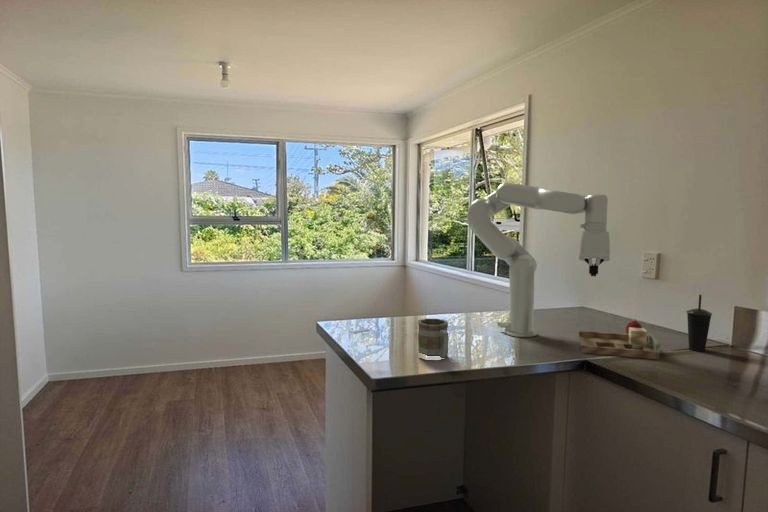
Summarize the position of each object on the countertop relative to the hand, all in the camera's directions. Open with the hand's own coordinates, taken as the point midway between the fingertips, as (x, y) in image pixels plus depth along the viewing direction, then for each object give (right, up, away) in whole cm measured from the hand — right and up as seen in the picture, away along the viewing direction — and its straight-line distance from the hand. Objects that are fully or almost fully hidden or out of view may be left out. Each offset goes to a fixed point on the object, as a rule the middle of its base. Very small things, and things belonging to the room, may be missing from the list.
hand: (593, 275), depth 178 cm
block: (+11, -24, -10) cm, 28 cm away
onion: (+17, -25, +4) cm, 31 cm away
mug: (-62, -27, -19) cm, 70 cm away
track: (+4, -26, -10) cm, 28 cm away
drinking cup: (+33, -26, -10) cm, 43 cm away
